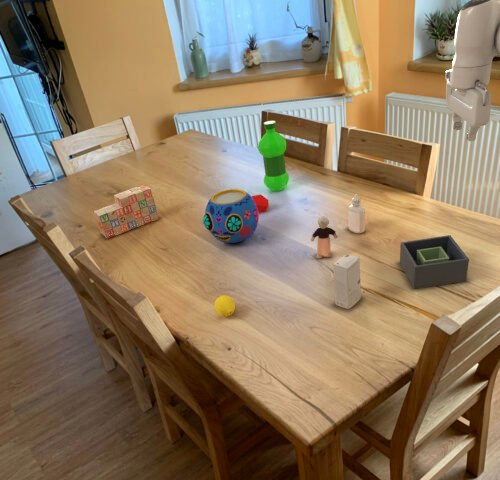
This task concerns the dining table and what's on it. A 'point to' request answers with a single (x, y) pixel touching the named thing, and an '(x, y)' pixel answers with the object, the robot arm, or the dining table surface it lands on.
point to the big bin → (438, 271)
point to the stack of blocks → (127, 211)
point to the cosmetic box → (347, 281)
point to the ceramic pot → (231, 216)
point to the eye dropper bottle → (356, 216)
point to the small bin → (431, 256)
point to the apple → (261, 203)
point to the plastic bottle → (273, 158)
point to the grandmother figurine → (323, 237)
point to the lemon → (224, 305)
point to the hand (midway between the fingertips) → (463, 134)
